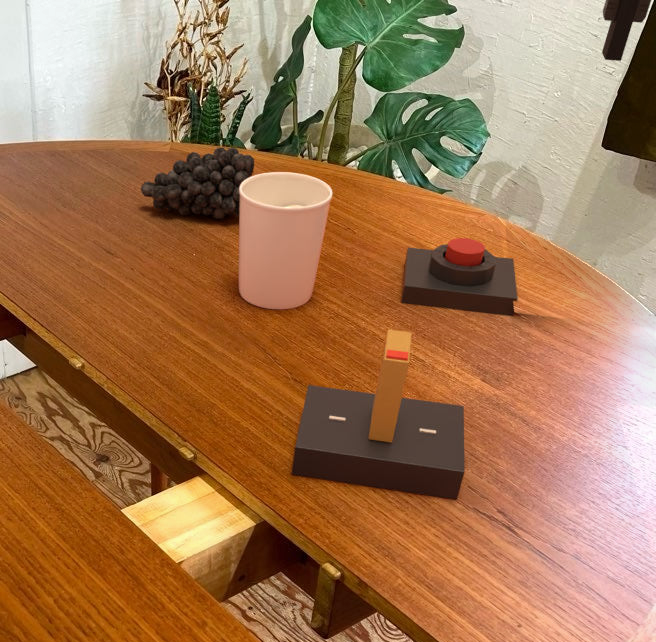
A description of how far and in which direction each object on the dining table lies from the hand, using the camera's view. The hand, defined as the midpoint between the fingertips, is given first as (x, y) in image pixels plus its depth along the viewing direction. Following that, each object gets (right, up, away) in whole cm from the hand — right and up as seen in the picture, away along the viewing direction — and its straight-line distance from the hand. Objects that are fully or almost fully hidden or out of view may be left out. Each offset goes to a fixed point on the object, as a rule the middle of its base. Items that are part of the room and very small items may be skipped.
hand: (611, 56), depth 96 cm
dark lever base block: (-26, -40, -10) cm, 49 cm away
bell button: (-11, -17, +12) cm, 24 cm away
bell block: (-11, -20, +14) cm, 27 cm away
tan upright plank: (-26, -38, -12) cm, 48 cm away
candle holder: (-32, -21, +13) cm, 40 cm away
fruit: (-40, -6, +30) cm, 50 cm away
